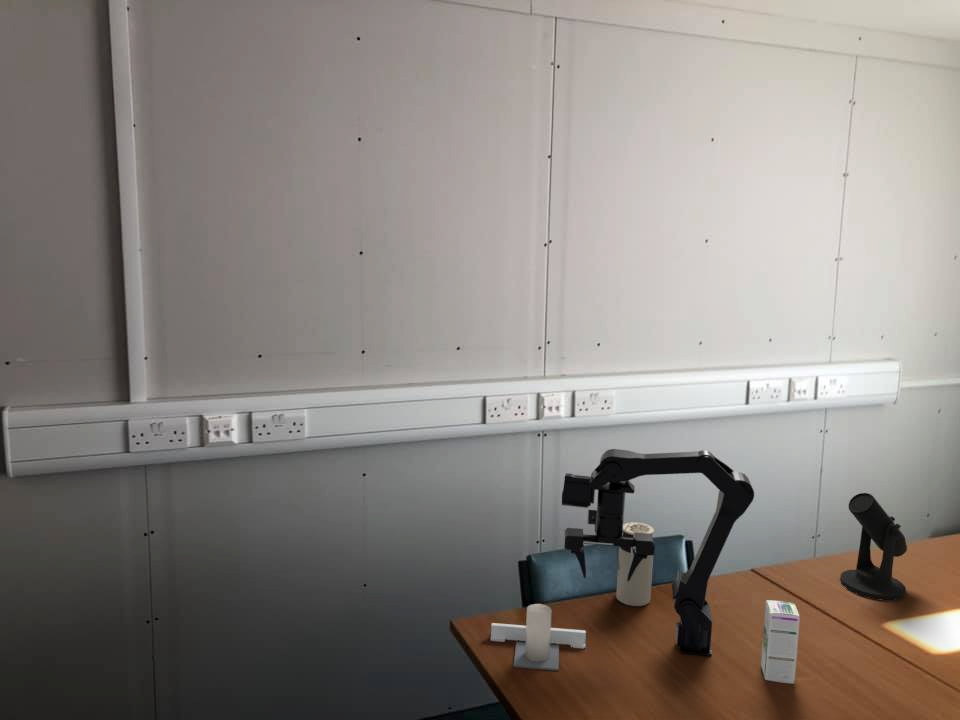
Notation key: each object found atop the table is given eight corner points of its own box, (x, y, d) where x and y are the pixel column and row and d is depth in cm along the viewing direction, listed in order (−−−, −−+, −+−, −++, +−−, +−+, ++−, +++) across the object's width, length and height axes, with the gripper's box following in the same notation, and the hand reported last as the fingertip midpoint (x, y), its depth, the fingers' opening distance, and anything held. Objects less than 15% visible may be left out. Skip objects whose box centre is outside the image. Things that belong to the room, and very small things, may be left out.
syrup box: (795, 684, 151) (802, 615, 148) (763, 680, 152) (770, 612, 150) (789, 668, 156) (796, 602, 154) (759, 664, 157) (765, 598, 155)
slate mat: (558, 647, 162) (559, 645, 162) (558, 670, 153) (558, 668, 153) (516, 643, 163) (516, 641, 163) (513, 666, 154) (513, 665, 154)
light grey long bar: (584, 641, 165) (585, 628, 164) (585, 648, 162) (585, 635, 161) (491, 633, 167) (492, 620, 166) (490, 640, 164) (491, 627, 163)
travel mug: (654, 597, 185) (659, 526, 182) (642, 610, 179) (647, 537, 176) (623, 588, 190) (628, 519, 187) (611, 601, 183) (615, 529, 180)
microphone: (822, 578, 199) (832, 485, 195) (875, 571, 204) (886, 480, 200) (866, 604, 185) (878, 505, 181) (922, 596, 190) (935, 499, 186)
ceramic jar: (549, 648, 160) (551, 604, 158) (549, 662, 155) (551, 617, 153) (525, 647, 161) (526, 603, 159) (524, 660, 156) (526, 615, 154)
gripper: (650, 499, 170) (646, 566, 172) (565, 494, 171) (562, 560, 174) (657, 518, 159) (651, 588, 161) (566, 512, 160) (562, 582, 163)
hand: (606, 578), depth 165 cm, fingers open, 9 cm apart
